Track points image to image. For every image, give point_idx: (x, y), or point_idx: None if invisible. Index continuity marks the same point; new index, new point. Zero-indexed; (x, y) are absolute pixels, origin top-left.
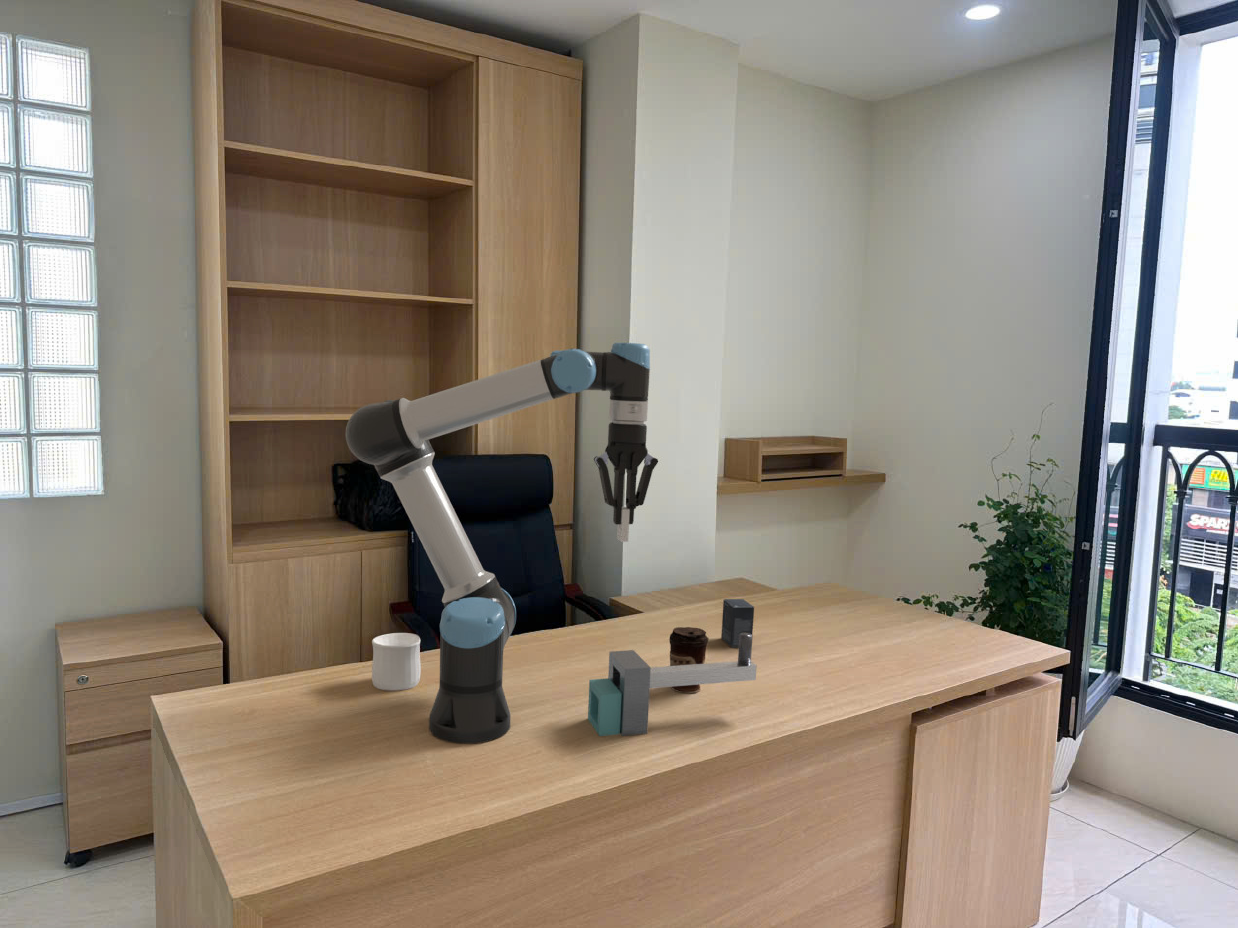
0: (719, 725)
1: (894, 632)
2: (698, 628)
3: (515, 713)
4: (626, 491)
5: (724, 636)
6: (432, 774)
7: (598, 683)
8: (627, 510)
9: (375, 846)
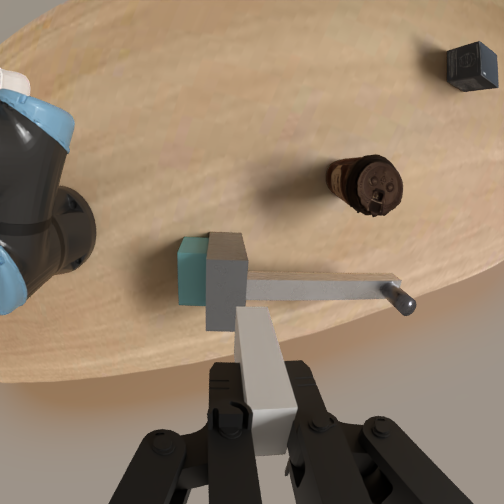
0: None
1: None
2: (400, 179)
3: (106, 202)
4: (318, 502)
5: (450, 59)
6: (39, 311)
7: (186, 268)
8: (272, 450)
9: (31, 375)
